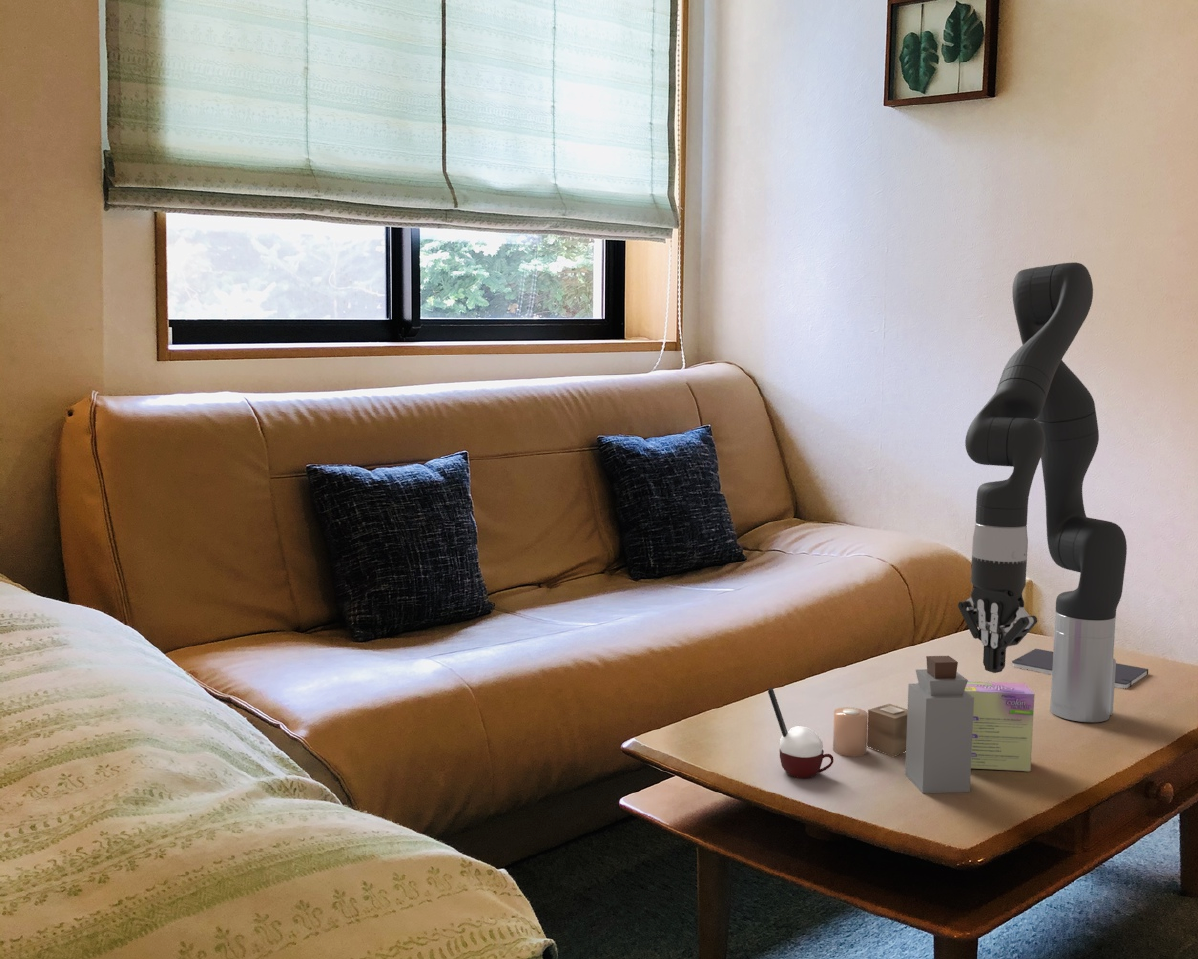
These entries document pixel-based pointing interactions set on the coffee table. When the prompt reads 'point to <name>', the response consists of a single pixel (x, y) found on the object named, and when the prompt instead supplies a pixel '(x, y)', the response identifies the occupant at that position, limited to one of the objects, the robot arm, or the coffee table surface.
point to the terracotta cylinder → (850, 731)
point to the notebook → (1044, 664)
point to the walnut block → (887, 729)
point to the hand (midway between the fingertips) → (993, 671)
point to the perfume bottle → (939, 728)
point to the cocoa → (799, 747)
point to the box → (1001, 725)
